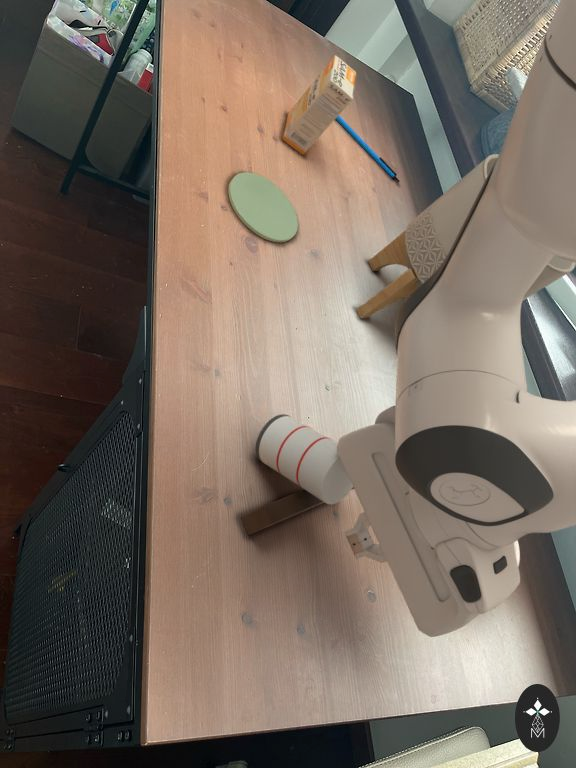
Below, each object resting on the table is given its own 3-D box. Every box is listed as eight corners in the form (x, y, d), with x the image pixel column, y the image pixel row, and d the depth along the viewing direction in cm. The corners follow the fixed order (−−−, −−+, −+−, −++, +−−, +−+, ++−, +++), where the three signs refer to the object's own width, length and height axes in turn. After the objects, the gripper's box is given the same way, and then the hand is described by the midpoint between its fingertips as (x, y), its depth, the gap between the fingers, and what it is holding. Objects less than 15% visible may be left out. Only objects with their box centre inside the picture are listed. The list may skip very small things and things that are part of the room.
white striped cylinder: (276, 528, 67) (344, 500, 60) (238, 433, 70) (299, 394, 62) (313, 512, 72) (382, 483, 64) (276, 423, 74) (338, 385, 66)
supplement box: (286, 112, 107) (334, 52, 98) (308, 129, 109) (357, 72, 100) (280, 139, 102) (330, 78, 93) (303, 156, 104) (354, 98, 95)
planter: (384, 369, 92) (535, 272, 74) (333, 261, 96) (464, 145, 78) (451, 356, 105) (593, 271, 87) (403, 261, 109) (530, 162, 91)
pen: (396, 184, 120) (401, 180, 120) (327, 111, 116) (330, 106, 116) (398, 182, 121) (402, 178, 120) (328, 109, 117) (332, 105, 116)
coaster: (248, 242, 86) (250, 239, 85) (215, 171, 88) (217, 168, 88) (307, 242, 94) (309, 240, 93) (276, 178, 96) (278, 175, 96)
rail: (248, 535, 65) (271, 524, 62) (240, 517, 65) (263, 505, 62) (335, 497, 74) (358, 486, 71) (328, 482, 75) (351, 470, 72)
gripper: (385, 404, 54) (292, 458, 64) (495, 632, 50) (377, 653, 59) (425, 392, 59) (332, 444, 68) (529, 601, 54) (414, 625, 64)
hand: (353, 543), depth 64 cm, fingers closed
